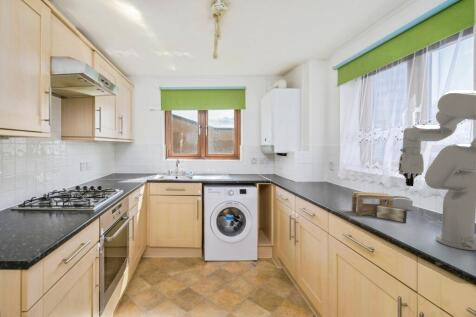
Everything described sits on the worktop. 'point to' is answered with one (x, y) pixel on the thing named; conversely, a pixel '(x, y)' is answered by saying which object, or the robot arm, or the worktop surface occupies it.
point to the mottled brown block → (391, 213)
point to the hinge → (401, 203)
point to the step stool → (369, 208)
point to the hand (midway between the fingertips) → (409, 185)
